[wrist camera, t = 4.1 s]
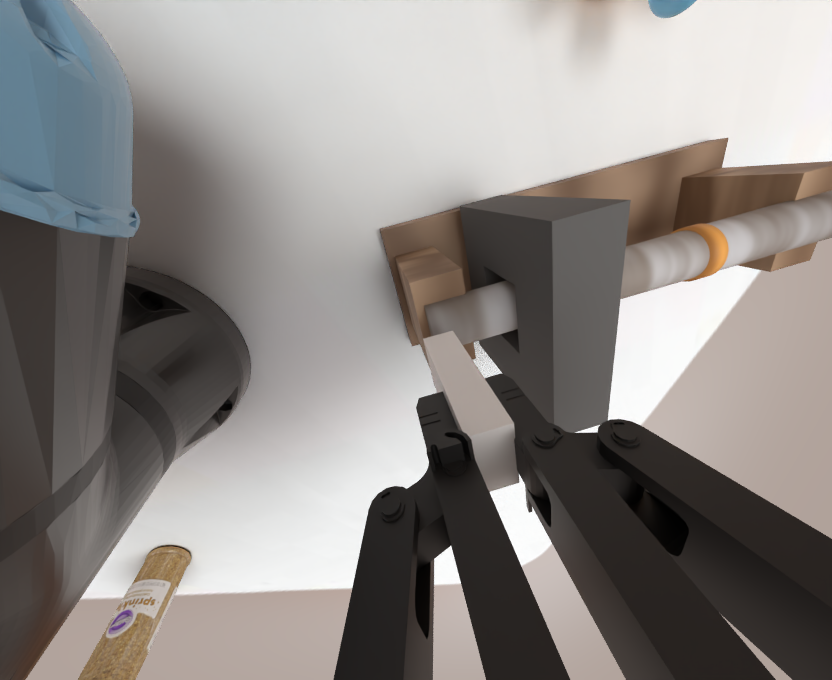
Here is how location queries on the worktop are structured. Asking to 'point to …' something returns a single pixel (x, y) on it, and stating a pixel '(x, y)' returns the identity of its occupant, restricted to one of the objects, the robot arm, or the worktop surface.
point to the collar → (554, 296)
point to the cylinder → (669, 7)
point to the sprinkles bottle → (138, 617)
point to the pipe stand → (646, 236)
